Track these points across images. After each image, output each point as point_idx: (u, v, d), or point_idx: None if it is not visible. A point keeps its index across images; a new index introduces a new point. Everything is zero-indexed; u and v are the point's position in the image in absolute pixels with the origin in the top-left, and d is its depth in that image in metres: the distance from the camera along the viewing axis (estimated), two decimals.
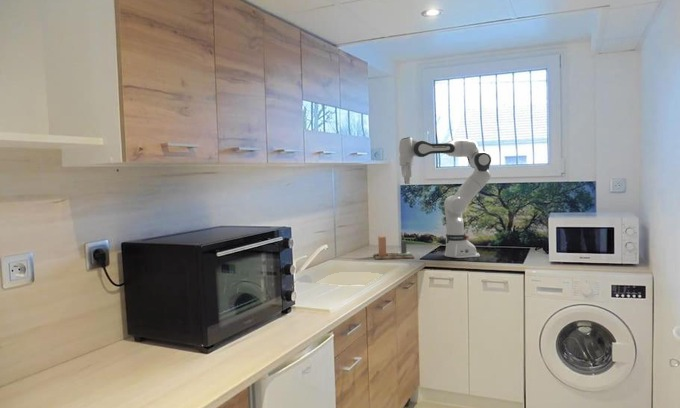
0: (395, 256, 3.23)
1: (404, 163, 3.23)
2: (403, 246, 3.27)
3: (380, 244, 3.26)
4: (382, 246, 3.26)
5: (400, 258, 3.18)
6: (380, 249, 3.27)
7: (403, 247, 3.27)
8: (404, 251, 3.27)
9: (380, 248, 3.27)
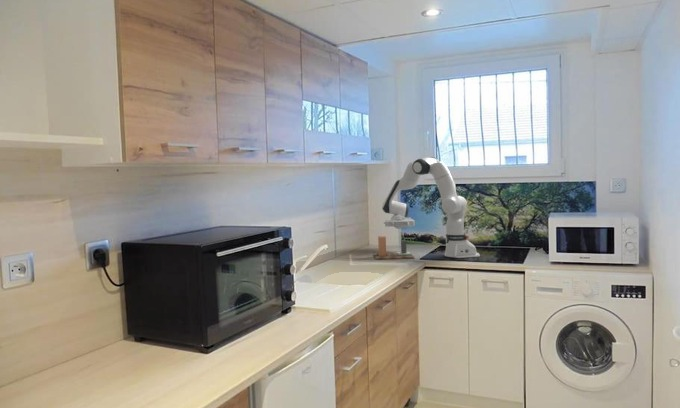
0: (395, 256, 3.23)
1: None
2: (403, 246, 3.27)
3: (380, 244, 3.26)
4: (382, 246, 3.26)
5: (400, 258, 3.18)
6: (380, 249, 3.27)
7: (403, 247, 3.27)
8: (404, 251, 3.27)
9: (380, 248, 3.27)
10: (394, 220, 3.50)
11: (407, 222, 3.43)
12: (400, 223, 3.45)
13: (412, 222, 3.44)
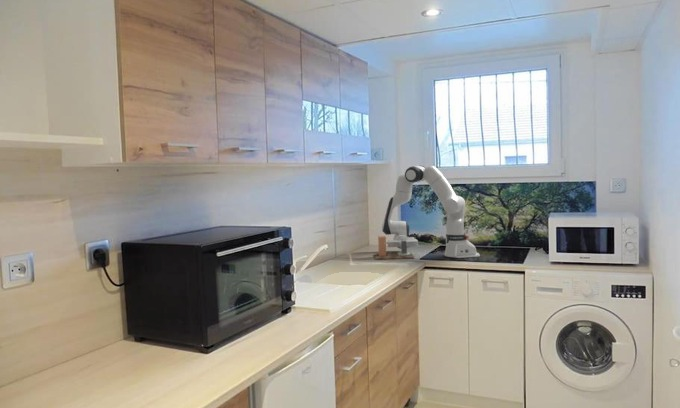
0: (395, 256, 3.23)
1: None
2: (403, 246, 3.26)
3: (380, 244, 3.26)
4: (382, 246, 3.26)
5: (400, 258, 3.18)
6: (380, 249, 3.27)
7: (403, 247, 3.26)
8: (404, 251, 3.26)
9: (380, 248, 3.27)
10: (397, 240, 3.39)
11: None
12: None
13: (415, 242, 3.33)
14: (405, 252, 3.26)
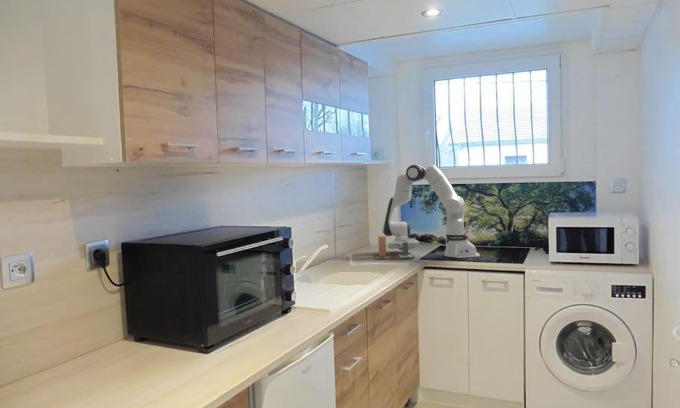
0: (395, 256, 3.23)
1: None
2: (405, 248, 3.19)
3: (380, 244, 3.26)
4: (382, 246, 3.26)
5: (400, 258, 3.18)
6: (380, 249, 3.27)
7: (405, 249, 3.19)
8: (406, 253, 3.19)
9: (380, 248, 3.27)
10: (398, 241, 3.32)
11: None
12: None
13: (417, 244, 3.27)
14: (406, 254, 3.19)
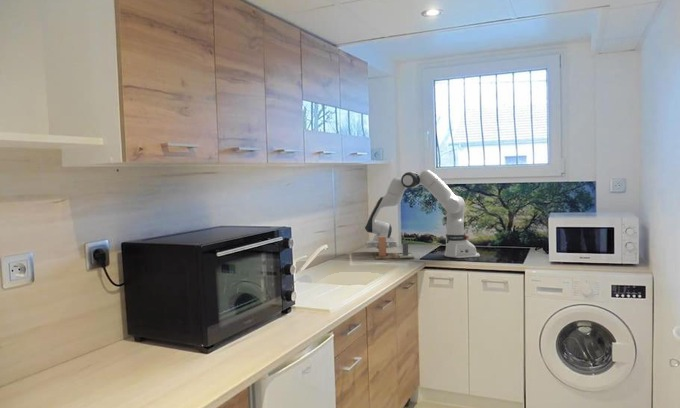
0: (395, 256, 3.23)
1: None
2: (405, 248, 3.19)
3: (380, 244, 3.26)
4: (382, 246, 3.26)
5: (400, 258, 3.18)
6: (380, 249, 3.27)
7: (405, 249, 3.19)
8: (406, 253, 3.19)
9: (380, 248, 3.27)
10: (376, 241, 3.38)
11: (387, 243, 3.31)
12: None
13: (394, 243, 3.32)
14: (406, 254, 3.19)
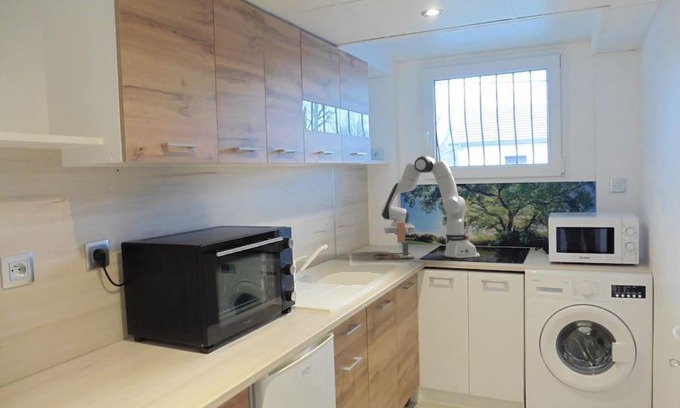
0: (395, 256, 3.23)
1: None
2: (405, 248, 3.19)
3: (399, 229, 3.25)
4: (400, 231, 3.26)
5: (400, 258, 3.18)
6: (399, 234, 3.26)
7: (405, 249, 3.19)
8: (406, 253, 3.19)
9: (399, 234, 3.26)
10: (394, 226, 3.37)
11: (405, 228, 3.30)
12: None
13: (413, 228, 3.32)
14: (406, 254, 3.19)
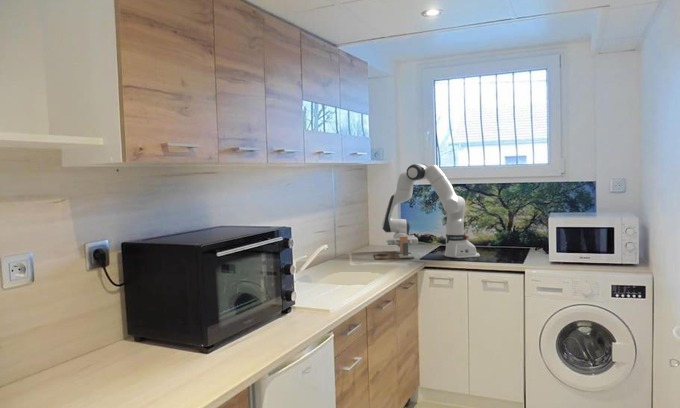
0: (395, 256, 3.23)
1: None
2: (405, 248, 3.19)
3: (402, 243, 3.26)
4: None
5: (400, 258, 3.18)
6: (402, 248, 3.27)
7: (405, 249, 3.19)
8: (406, 253, 3.19)
9: (401, 248, 3.27)
10: (397, 238, 3.38)
11: (410, 240, 3.31)
12: None
13: (415, 240, 3.32)
14: (406, 254, 3.19)
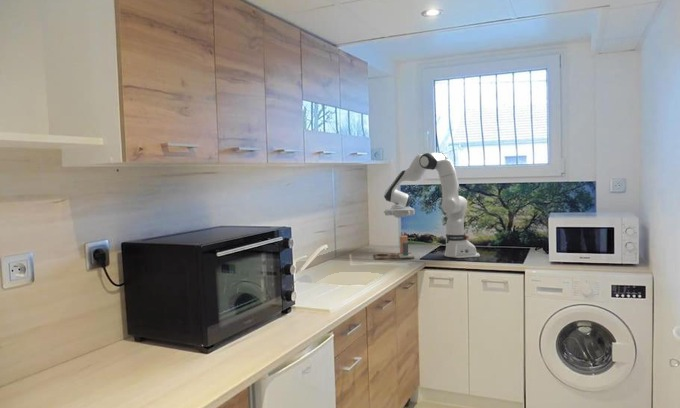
0: (395, 256, 3.23)
1: None
2: (405, 248, 3.19)
3: (402, 243, 3.26)
4: None
5: (400, 258, 3.18)
6: (402, 248, 3.27)
7: (405, 249, 3.19)
8: (406, 253, 3.19)
9: (401, 248, 3.27)
10: (394, 209, 3.49)
11: (408, 211, 3.43)
12: (400, 212, 3.45)
13: (412, 211, 3.44)
14: (406, 254, 3.19)
